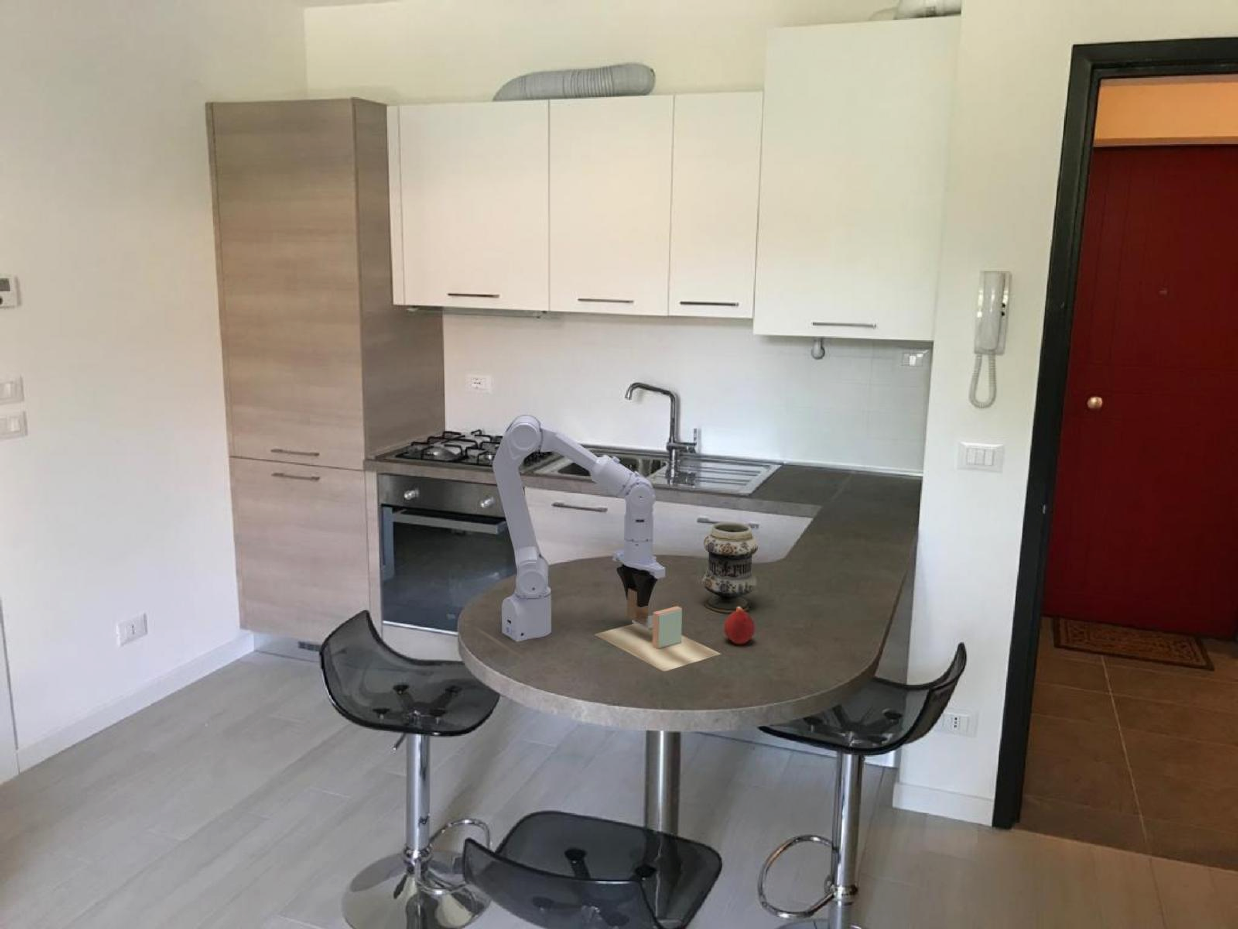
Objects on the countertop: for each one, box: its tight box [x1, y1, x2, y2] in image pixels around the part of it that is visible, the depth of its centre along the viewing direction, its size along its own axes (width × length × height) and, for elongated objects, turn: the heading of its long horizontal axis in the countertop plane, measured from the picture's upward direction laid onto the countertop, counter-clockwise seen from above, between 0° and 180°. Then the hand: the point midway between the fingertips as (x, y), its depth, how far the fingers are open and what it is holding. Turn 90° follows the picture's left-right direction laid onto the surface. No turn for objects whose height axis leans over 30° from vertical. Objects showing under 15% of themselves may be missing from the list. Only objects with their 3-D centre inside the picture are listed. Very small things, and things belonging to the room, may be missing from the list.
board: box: [593, 623, 722, 673], centre depth 182 cm, size 14×22×1 cm, turn 37°
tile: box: [652, 605, 683, 649], centre depth 181 cm, size 6×2×7 cm, turn 126°
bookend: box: [626, 587, 653, 631], centre depth 186 cm, size 5×8×6 cm, turn 37°
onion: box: [723, 607, 756, 645], centre depth 183 cm, size 6×6×8 cm
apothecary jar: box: [701, 521, 759, 614], centre depth 205 cm, size 12×12×18 cm
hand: (637, 603), depth 188 cm, fingers closed on bookend, 3 cm apart
